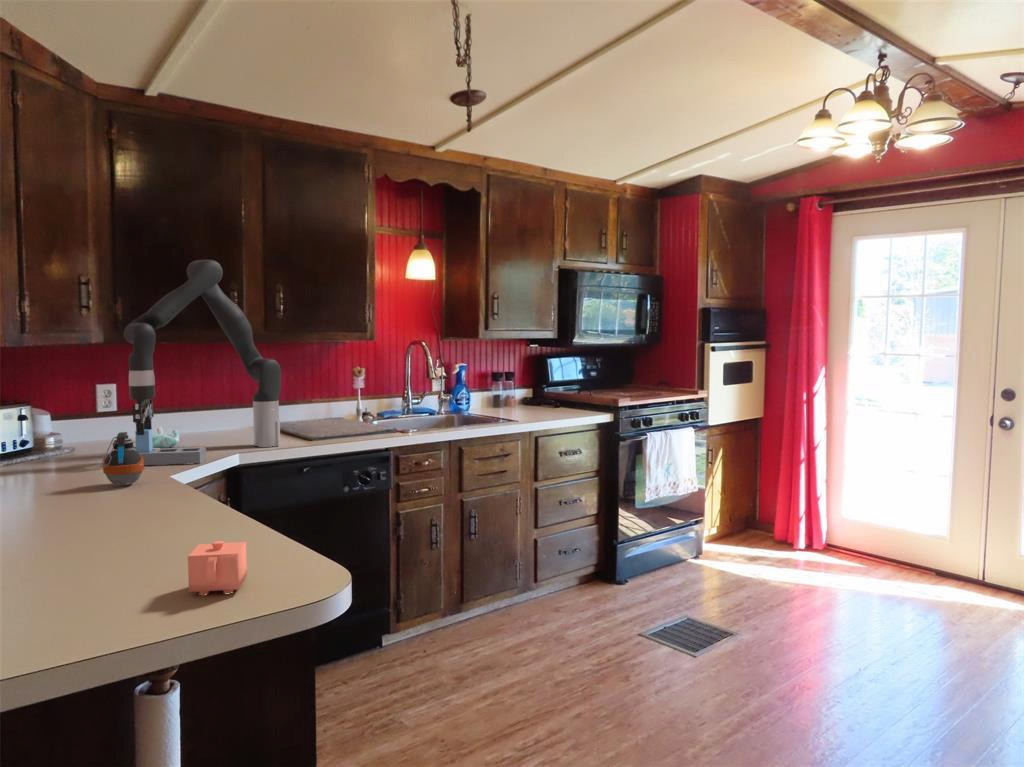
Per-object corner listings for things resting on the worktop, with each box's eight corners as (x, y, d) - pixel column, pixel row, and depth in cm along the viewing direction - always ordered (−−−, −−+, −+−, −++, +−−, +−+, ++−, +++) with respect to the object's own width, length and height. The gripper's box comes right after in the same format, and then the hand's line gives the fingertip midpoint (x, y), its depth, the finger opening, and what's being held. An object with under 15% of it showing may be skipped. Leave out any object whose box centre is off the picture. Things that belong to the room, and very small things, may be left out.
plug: (153, 462, 237) (152, 429, 236) (149, 464, 233) (148, 430, 232) (140, 462, 236) (138, 429, 235) (136, 464, 232) (135, 431, 231)
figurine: (168, 425, 286) (185, 430, 262) (171, 440, 287) (188, 447, 263) (132, 431, 279) (146, 437, 254) (135, 447, 279) (149, 454, 255)
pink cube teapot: (250, 575, 127) (249, 530, 127) (236, 600, 115) (235, 550, 115) (204, 577, 126) (202, 532, 125) (185, 603, 114) (184, 552, 114)
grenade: (106, 483, 204) (104, 431, 202) (146, 480, 207) (144, 429, 206) (99, 491, 193) (97, 436, 192) (141, 488, 197) (140, 434, 196)
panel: (206, 458, 243) (205, 447, 243) (200, 463, 234) (199, 451, 233) (136, 461, 238) (135, 449, 238) (126, 466, 229) (126, 454, 228)
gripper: (148, 385, 226) (150, 435, 228) (160, 382, 240) (162, 429, 242) (122, 386, 225) (125, 436, 226) (135, 382, 239) (138, 430, 240)
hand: (144, 433), depth 234 cm, fingers open, 8 cm apart
